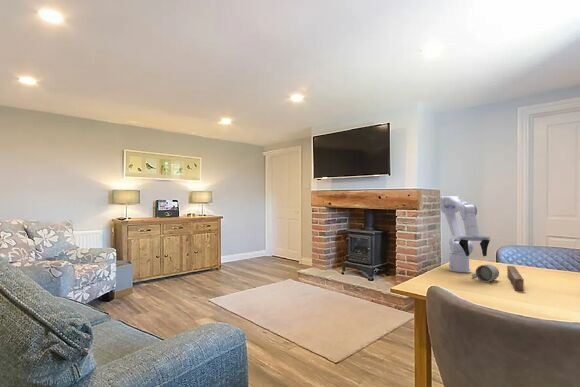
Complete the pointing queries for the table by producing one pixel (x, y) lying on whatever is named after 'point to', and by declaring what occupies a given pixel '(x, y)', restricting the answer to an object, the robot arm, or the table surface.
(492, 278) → the ceramic mug
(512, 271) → the walnut board
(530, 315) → the table surface
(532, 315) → the table surface
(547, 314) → the table surface
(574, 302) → the table surface
